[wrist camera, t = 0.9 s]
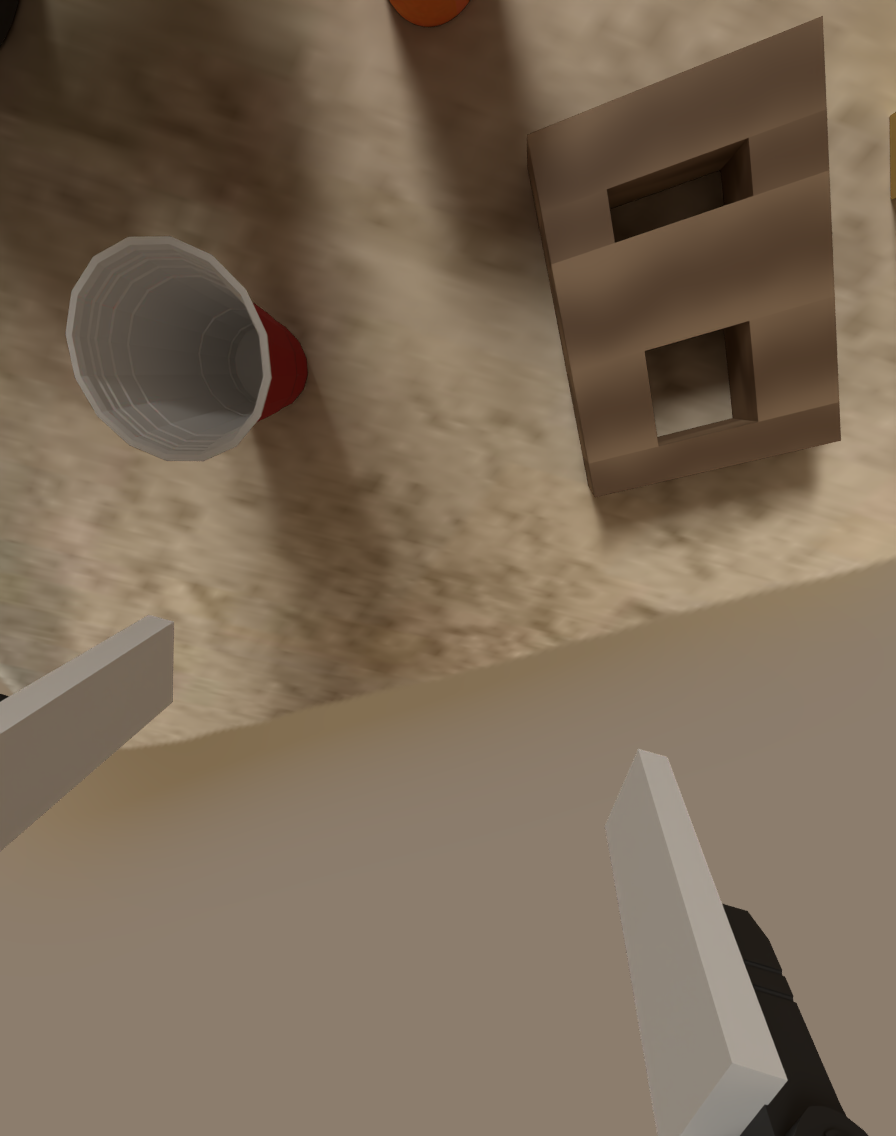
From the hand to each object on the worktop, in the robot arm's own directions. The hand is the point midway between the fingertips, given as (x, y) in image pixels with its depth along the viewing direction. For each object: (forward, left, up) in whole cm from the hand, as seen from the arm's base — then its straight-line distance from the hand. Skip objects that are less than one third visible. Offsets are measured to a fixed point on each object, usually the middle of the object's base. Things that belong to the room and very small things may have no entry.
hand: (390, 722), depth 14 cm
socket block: (-10, +15, -26) cm, 32 cm away
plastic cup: (-14, -12, -26) cm, 32 cm away
